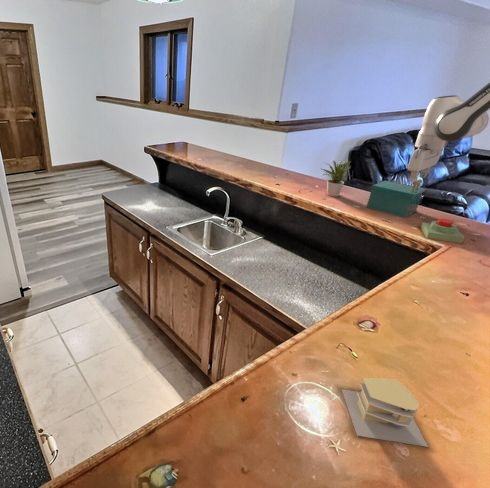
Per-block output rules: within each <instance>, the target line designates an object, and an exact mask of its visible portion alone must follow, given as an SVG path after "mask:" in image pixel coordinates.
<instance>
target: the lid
mask: <svg viewBox="0 0 490 488" xmlns="http://www.w3.org/2000/svg"><path fill="white" fill-rule="evenodd" d="M421 184H423V180H422V178H419V179H417V181H416V182H412V185H409V184H404V183H399V182H394V181H389V180H383V181H380V182H377V183H375V184H372V186H371V188H372V187H374V188H378V189H383V190H387V191H392V192H396V193H401V194H405V195H410V196H416V195H418V194H420V193H422V194H423V193H424V192H426V191H427V188H423V187H420V185H421Z"/></svg>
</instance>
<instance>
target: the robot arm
mask: <svg viewBox="0 0 490 488" xmlns="http://www.w3.org/2000/svg"><path fill="white" fill-rule="evenodd" d="M489 110H490V82H488V83H487V84H486V85H484V86H483V87H482V88H480V89H479V90H478V91H477V92H475V93H474V94H473V95H471V96H470V97H469V98H468V99H466V100H465V101H464V100H462V99H461V97H460V96H459V95H454V94H453V95H442V96H437V97H435V98H432V99H431V101H430V102H429V104H428V106H427V107H426V110H425V112H424V115H423V118H422V121H421V123H422V126H421V128H420V130H419V131H418V134H417V138H416V141H415V143H414V147H415V148H417V149H415V150H413V152H412V154H411V157H410V159H409V162H408V164H407V171H409V172H410V179H409V181H410V182H412V183H413V182H416V181H417V180H418V175H419V179H425V178H426V177H427V175H428V173H429V171H430V170H431V167H433V166H436V165H437V164H438V162H439V160H440V158H441V156H442V154H443V151H444V148H446V147H447V145H448V142H453V141H458V140H460V139H465V138H470V137H473V136H475V135H478V134H481V132H483V131H484V130H485V129H486V127H487V126H488V124H489V121H490V120H489V119H490V118H489V115H488V111H489ZM420 171H421V172H420Z"/></svg>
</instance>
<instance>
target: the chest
mask: <svg viewBox="0 0 490 488" xmlns="http://www.w3.org/2000/svg"><path fill="white" fill-rule="evenodd" d="M422 194H423V192H422V193H420V194H418V195H416V196H410V195H405V194H401V193H396V192H392V191H387V190H383V189H378V188H374V187H372V186H371V191H370V194H369V197H368V201H367V205H366V208H367V209H371V210H375V211H379V212H383V213H386V214H390V215H394V216H397V217H402V218H406V217H408V216H410V215H411V214H414V213H416V212H417V210H418V207H419V204H420V201H421V198H422Z"/></svg>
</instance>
